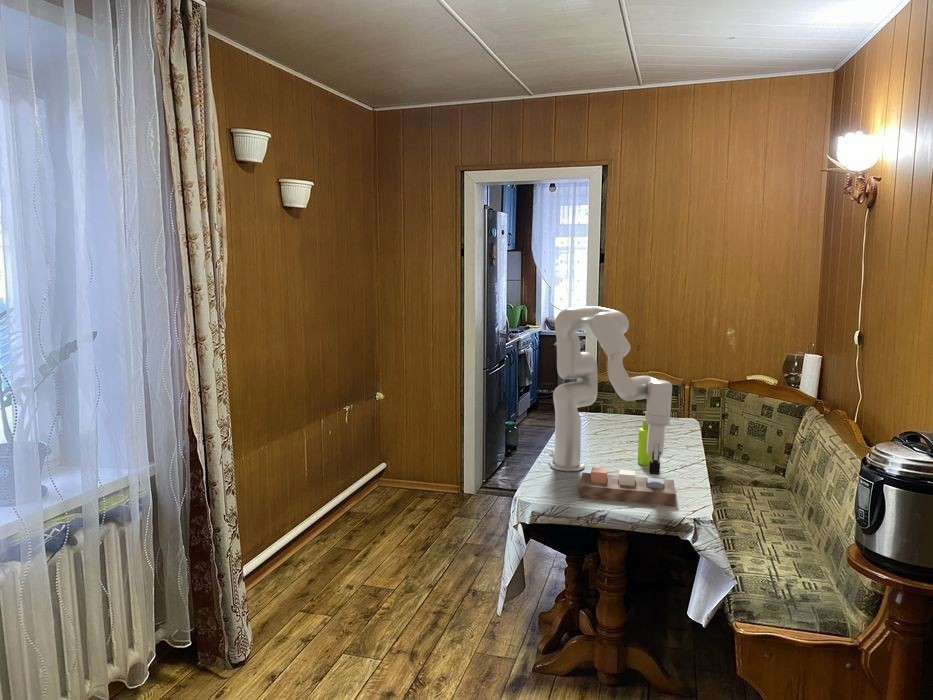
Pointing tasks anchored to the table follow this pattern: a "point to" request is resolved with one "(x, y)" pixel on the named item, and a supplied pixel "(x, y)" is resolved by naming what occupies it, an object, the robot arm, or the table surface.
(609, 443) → the table surface
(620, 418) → the table surface
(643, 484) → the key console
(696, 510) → the table surface
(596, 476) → the terracotta key
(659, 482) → the slate key
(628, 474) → the ivory key
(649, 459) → the soap dispenser
